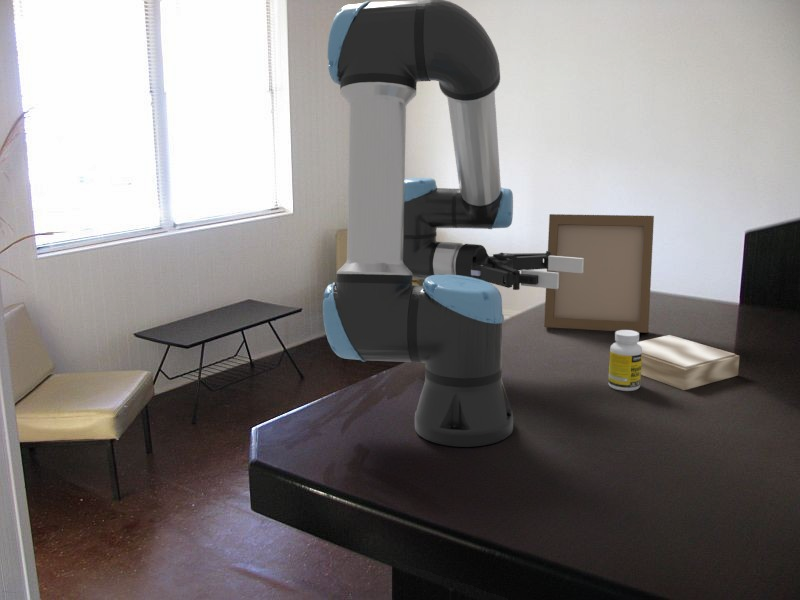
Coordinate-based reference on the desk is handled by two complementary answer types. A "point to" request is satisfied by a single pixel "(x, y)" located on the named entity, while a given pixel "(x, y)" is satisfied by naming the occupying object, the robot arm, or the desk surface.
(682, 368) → the pedestal
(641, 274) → the photo frame
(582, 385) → the desk surface
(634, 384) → the supplement bottle
